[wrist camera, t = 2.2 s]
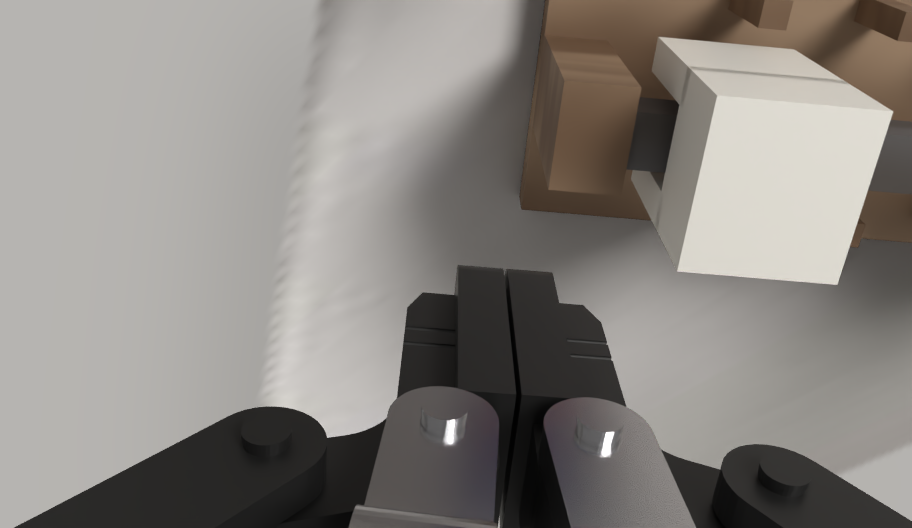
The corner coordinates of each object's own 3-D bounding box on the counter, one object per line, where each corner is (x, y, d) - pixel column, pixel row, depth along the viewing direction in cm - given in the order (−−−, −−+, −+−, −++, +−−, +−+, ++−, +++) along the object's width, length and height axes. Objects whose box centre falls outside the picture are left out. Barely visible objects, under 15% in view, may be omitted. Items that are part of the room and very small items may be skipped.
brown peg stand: (554, -70, 27) (593, -32, 19) (1170, -11, 28) (1463, 51, 20) (519, 196, 31) (539, 321, 23) (1059, 243, 32) (1264, 380, 23)
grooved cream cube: (658, 36, 25) (717, 95, 19) (794, 49, 25) (893, 111, 19) (631, 179, 27) (677, 271, 21) (757, 189, 27) (837, 284, 21)
